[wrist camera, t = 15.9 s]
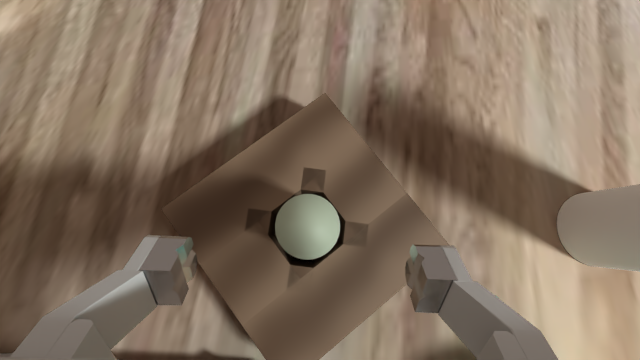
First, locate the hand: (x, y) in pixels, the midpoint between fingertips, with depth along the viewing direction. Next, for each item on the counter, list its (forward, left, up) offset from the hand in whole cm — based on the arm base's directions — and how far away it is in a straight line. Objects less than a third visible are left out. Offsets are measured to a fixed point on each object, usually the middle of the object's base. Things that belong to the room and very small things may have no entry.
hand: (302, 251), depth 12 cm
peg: (+1, -1, -17) cm, 17 cm away
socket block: (+1, -1, -17) cm, 17 cm away
